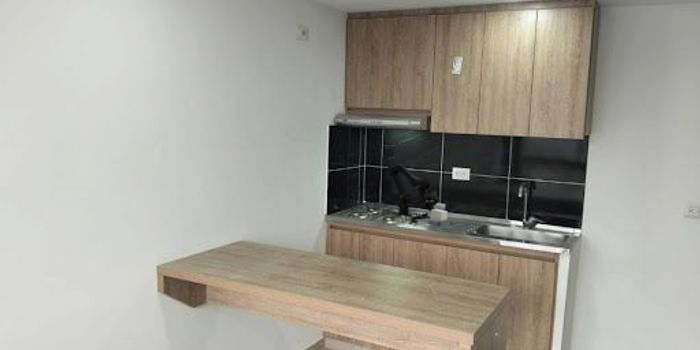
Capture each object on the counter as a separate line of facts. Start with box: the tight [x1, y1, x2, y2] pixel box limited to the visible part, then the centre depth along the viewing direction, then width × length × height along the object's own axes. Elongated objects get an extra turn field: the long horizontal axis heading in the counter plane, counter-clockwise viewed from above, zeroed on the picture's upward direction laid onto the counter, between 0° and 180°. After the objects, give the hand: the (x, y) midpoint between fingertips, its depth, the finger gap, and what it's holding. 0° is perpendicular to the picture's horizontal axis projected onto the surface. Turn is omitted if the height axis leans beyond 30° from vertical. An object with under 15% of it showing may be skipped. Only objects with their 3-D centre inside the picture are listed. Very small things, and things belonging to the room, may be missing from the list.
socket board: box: [415, 217, 453, 227], centre depth 367 cm, size 22×14×4 cm, turn 40°
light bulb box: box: [427, 202, 446, 218], centre depth 387 cm, size 11×7×11 cm, turn 56°
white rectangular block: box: [430, 209, 448, 221], centre depth 363 cm, size 9×6×9 cm, turn 40°
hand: (433, 212), depth 367 cm, fingers closed, pressing on white rectangular block
